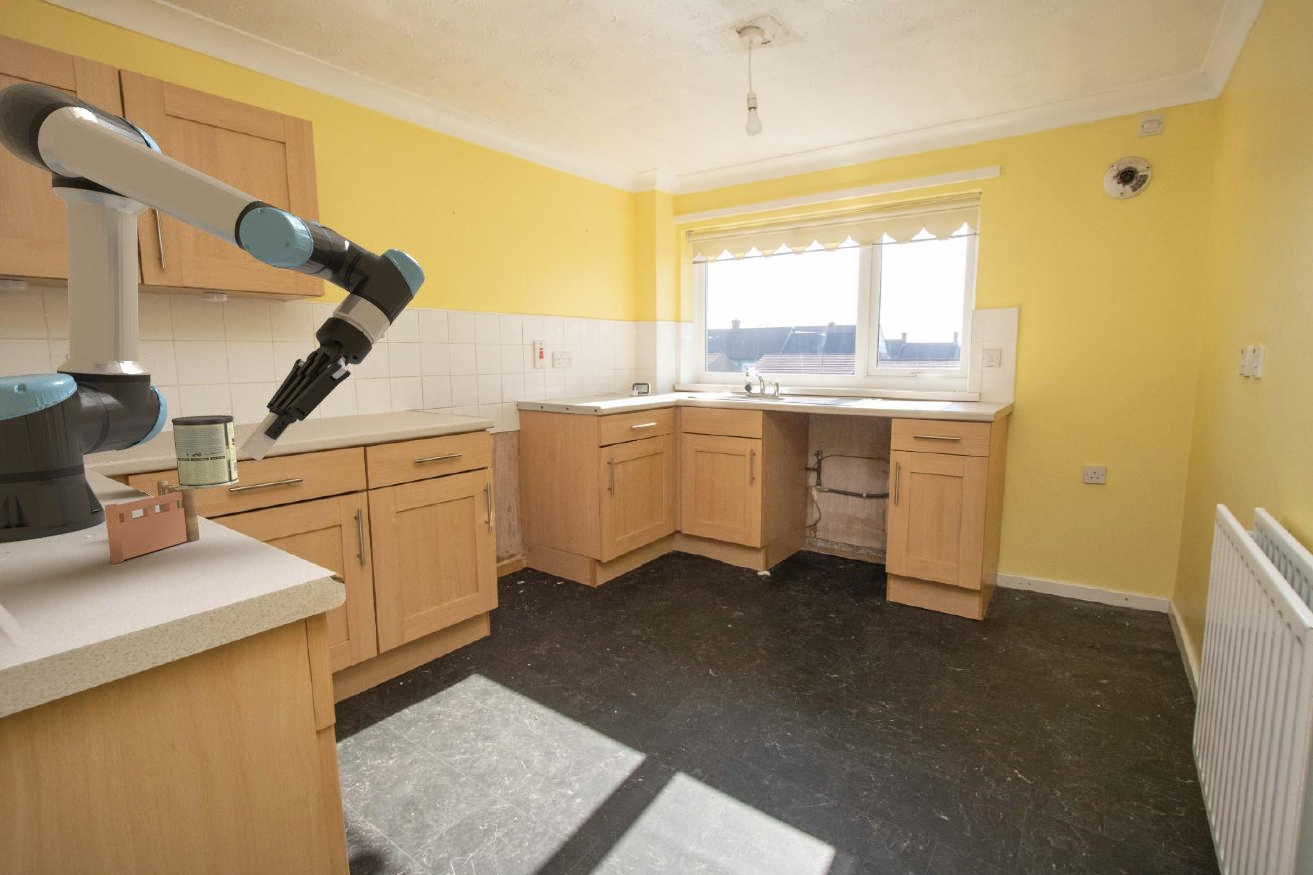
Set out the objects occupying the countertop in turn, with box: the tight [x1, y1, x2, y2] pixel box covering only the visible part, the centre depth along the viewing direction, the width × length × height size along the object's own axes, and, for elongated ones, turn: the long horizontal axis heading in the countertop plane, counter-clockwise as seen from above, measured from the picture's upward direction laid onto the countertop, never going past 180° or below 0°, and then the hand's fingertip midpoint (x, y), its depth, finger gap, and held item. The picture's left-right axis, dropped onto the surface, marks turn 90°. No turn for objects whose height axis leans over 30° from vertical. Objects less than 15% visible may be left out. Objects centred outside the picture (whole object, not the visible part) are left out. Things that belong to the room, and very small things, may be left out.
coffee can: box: [171, 414, 240, 490], centre depth 129 cm, size 10×10×14 cm
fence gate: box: [104, 492, 187, 565], centre depth 79 cm, size 9×1×7 cm, turn 168°
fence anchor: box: [156, 480, 201, 543], centre depth 88 cm, size 11×2×8 cm, turn 55°
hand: (249, 454), depth 88 cm, fingers closed
